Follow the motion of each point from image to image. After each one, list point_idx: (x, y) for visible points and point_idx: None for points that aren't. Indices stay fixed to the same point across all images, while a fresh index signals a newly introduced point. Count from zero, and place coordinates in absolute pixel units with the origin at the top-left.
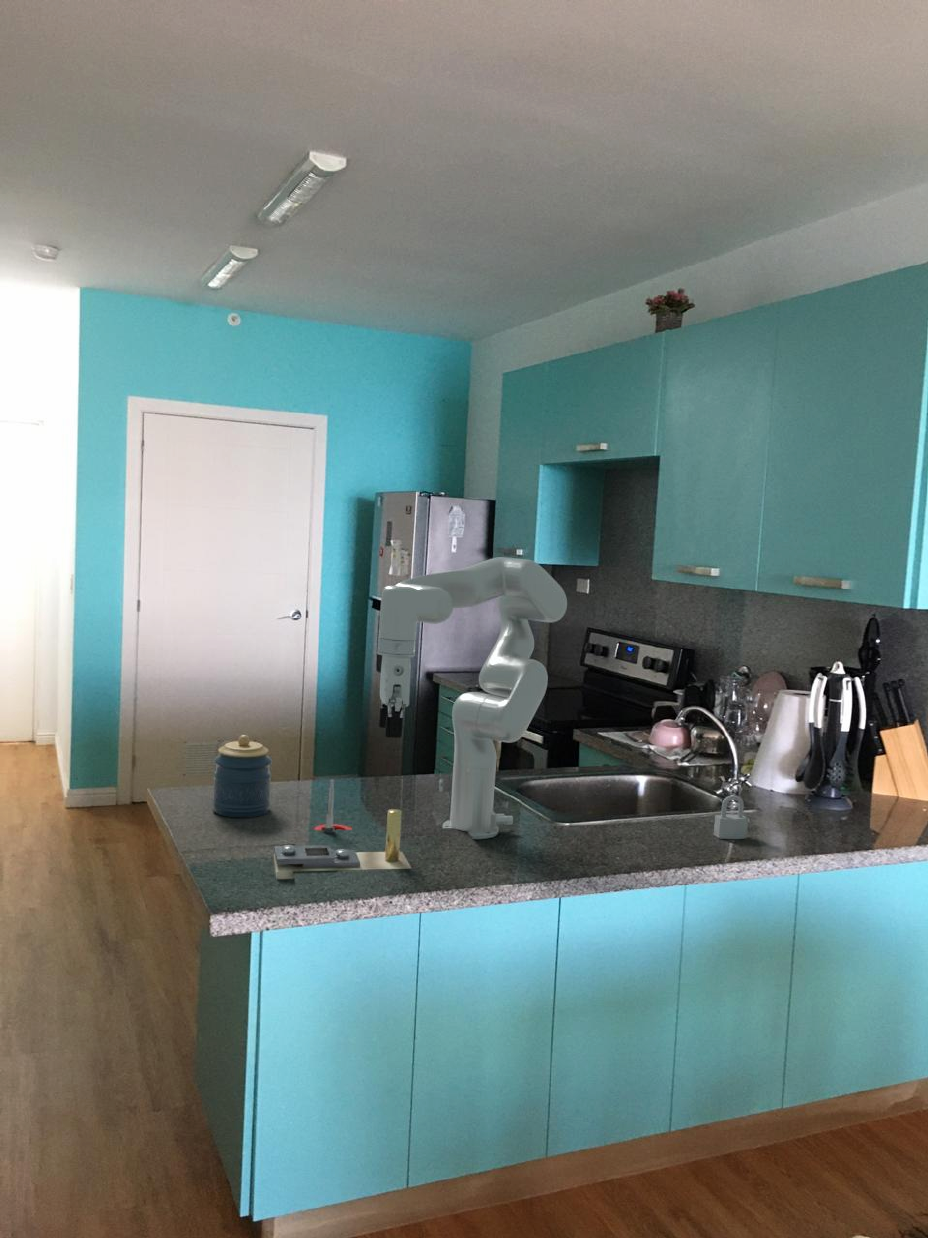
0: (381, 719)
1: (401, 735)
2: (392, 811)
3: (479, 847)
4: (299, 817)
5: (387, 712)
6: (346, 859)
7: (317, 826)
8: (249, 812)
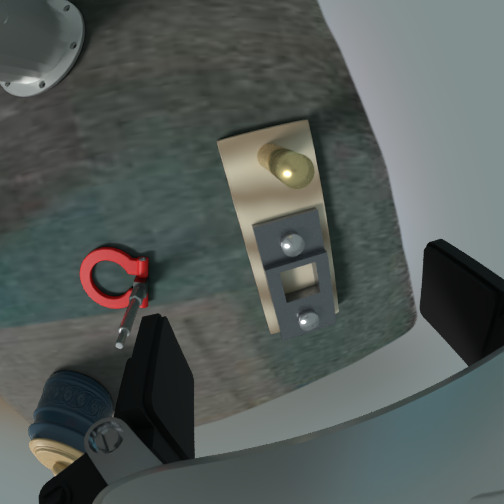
0: (191, 406)
1: (443, 240)
2: (300, 177)
3: (123, 12)
4: (65, 333)
5: (178, 423)
6: (306, 233)
7: (106, 306)
8: (101, 390)
